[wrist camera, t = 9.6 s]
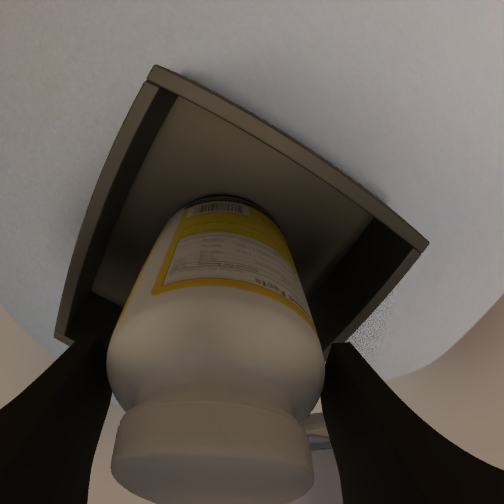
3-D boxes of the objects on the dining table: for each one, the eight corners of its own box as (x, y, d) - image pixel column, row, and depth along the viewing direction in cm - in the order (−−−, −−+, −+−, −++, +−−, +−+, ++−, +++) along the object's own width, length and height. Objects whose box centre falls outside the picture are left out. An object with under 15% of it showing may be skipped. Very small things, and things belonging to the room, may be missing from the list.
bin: (255, 366, 20) (259, 421, 16) (83, 288, 17) (53, 337, 13) (387, 205, 15) (430, 242, 11) (179, 73, 12) (154, 63, 8)
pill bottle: (188, 317, 18) (159, 520, 7) (138, 216, 15) (14, 424, 4) (299, 287, 17) (357, 499, 7) (267, 173, 14) (346, 392, 4)
